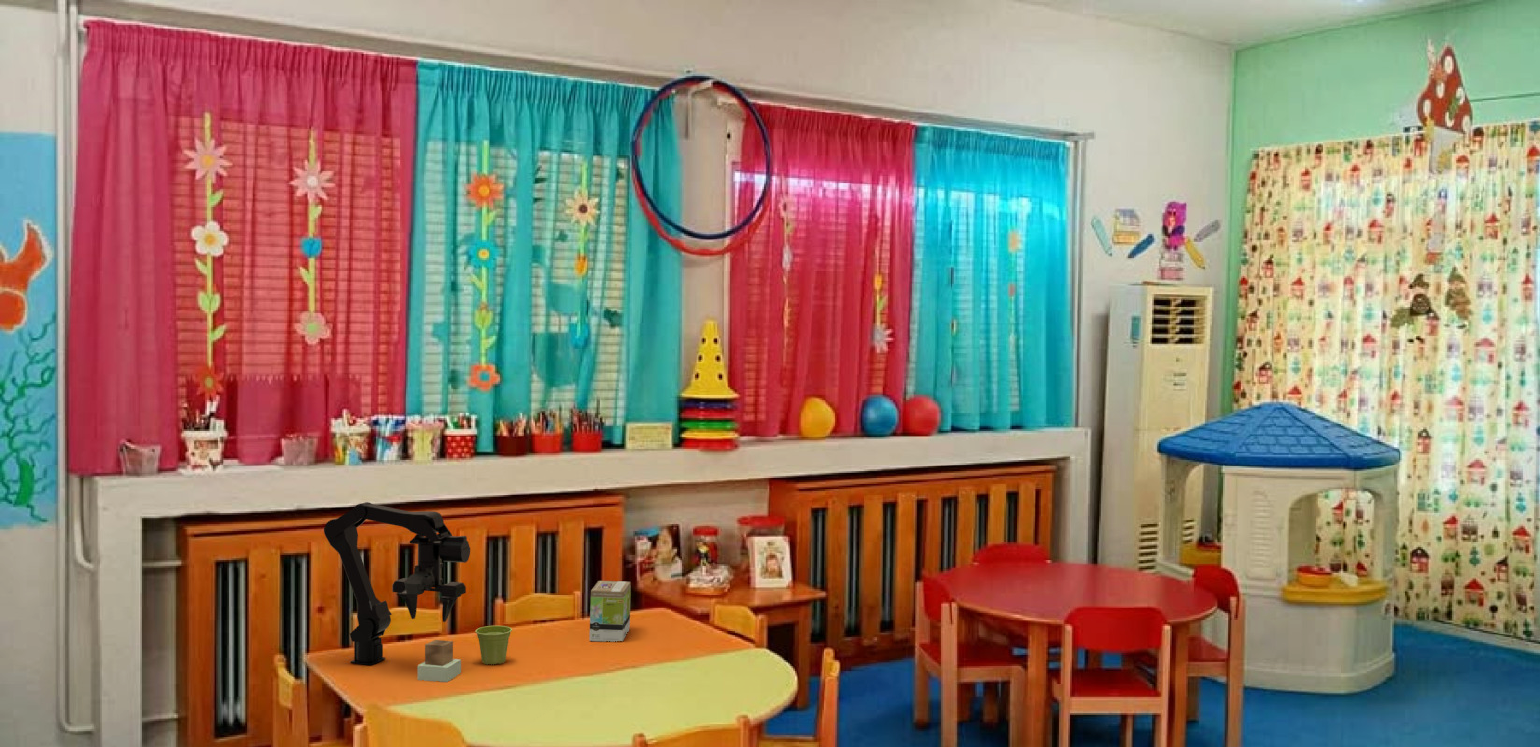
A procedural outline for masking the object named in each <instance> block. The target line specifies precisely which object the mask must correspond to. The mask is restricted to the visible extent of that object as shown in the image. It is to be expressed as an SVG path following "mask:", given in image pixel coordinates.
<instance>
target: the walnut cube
mask: <svg viewBox="0 0 1540 747" xmlns="http://www.w3.org/2000/svg"><path fill="white" fill-rule="evenodd" d="M453 659H454V641H453V640H441V639H434V640H432V641H430V642H428V643H425V644H424V662H425V664H430V665H441V666H443V665H445V664H447V663H449V662H451V661H453Z"/></svg>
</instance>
